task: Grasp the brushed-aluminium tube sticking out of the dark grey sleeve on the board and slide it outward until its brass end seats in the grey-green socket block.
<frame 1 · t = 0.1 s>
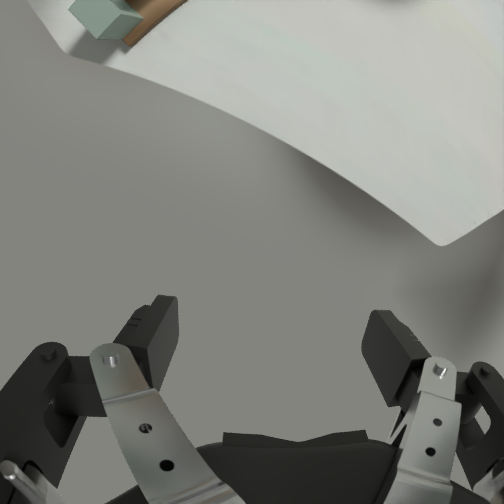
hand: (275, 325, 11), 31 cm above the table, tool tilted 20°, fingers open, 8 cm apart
socket: (123, 15, 25), resting on board
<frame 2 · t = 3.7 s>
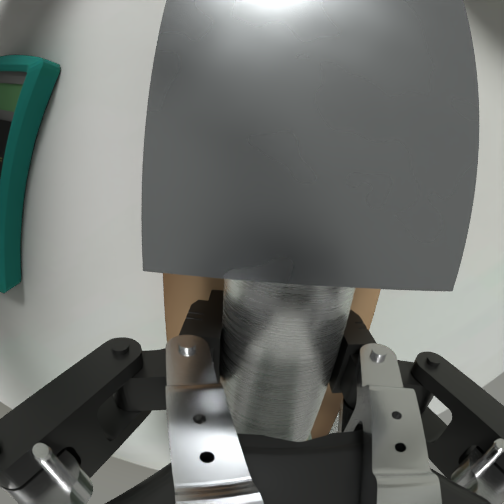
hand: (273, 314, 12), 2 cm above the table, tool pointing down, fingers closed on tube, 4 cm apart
board: (271, 292, 14), on the table
tube: (297, 222, 8), point 5 cm above the table, slide at 0.0 cm, touching gripper
digital multimeter: (4, 168, 13), on the table
sleeve: (289, 114, 12), resting on board
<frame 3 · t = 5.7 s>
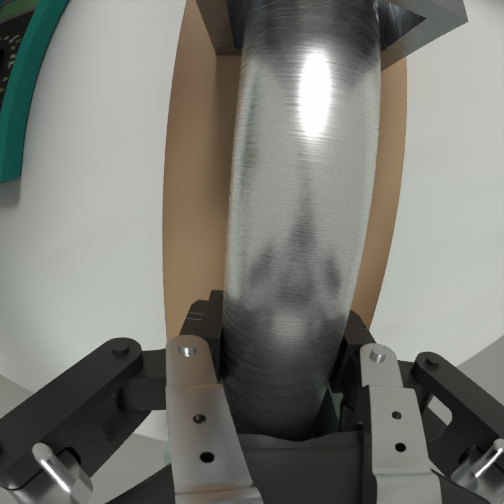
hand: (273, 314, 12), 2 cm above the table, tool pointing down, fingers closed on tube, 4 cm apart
board: (286, 154, 12), on the table
tube: (297, 222, 8), point 5 cm above the table, slide at 6.6 cm, touching gripper
digital multimeter: (15, 73, 11), on the table
socket: (262, 360, 15), resting on board
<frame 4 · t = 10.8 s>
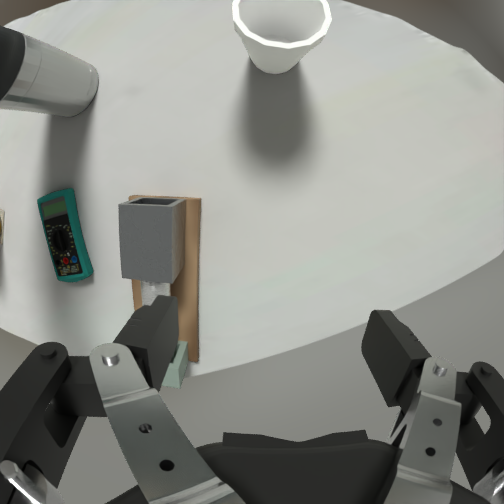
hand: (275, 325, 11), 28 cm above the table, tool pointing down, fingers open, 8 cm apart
board: (165, 284, 41), on the table
tube: (157, 312, 37), point 5 cm above the table, slide at 6.7 cm
digital multimeter: (68, 233, 40), on the table
foam cup: (273, 54, 31), on the table
sleeve: (165, 228, 39), resting on board
socket: (169, 343, 45), resting on board
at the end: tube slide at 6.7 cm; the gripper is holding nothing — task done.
